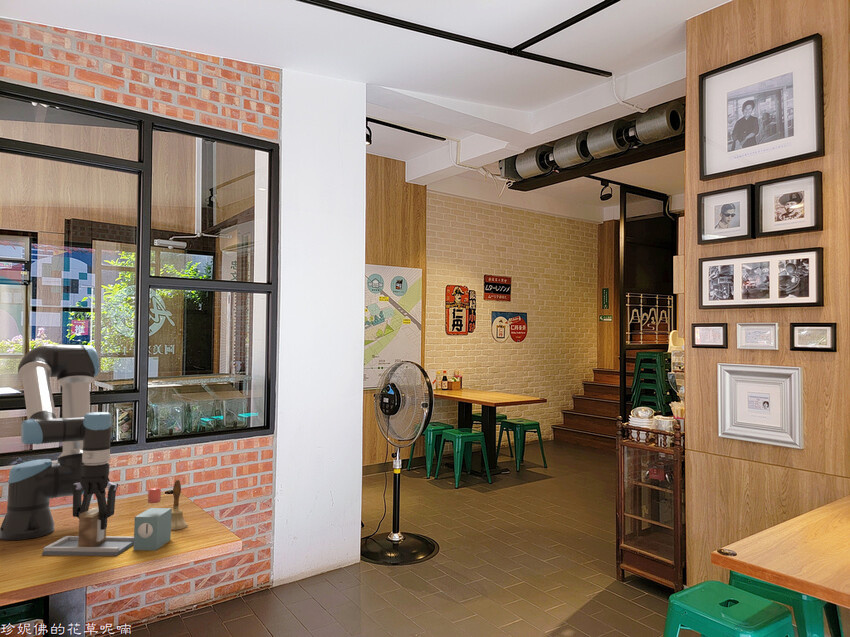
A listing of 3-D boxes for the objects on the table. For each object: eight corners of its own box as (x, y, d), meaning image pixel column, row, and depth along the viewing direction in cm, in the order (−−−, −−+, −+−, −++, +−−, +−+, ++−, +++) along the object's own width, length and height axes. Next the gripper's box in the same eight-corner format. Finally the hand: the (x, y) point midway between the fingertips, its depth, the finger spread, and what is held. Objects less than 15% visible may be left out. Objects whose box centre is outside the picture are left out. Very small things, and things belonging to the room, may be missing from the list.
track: (42, 555, 171) (42, 548, 171) (66, 541, 183) (67, 535, 183) (116, 555, 171) (116, 548, 172) (136, 542, 183) (136, 536, 184)
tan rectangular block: (77, 548, 173) (79, 514, 174) (92, 540, 182) (94, 507, 182) (91, 548, 173) (92, 514, 174) (106, 540, 182) (107, 507, 182)
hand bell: (179, 522, 206) (180, 476, 207) (192, 526, 201) (194, 479, 202) (156, 527, 199) (158, 480, 200) (170, 532, 195) (172, 484, 196)
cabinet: (132, 550, 176) (133, 517, 176) (148, 539, 186) (150, 508, 187) (155, 551, 176) (156, 517, 176) (170, 539, 187) (171, 508, 187)
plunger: (145, 503, 180) (146, 490, 181) (151, 500, 184) (151, 487, 184) (157, 503, 181) (157, 490, 181) (162, 500, 184) (162, 487, 184)
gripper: (60, 464, 175) (56, 543, 174) (116, 465, 175) (113, 544, 174) (75, 460, 183) (72, 535, 181) (129, 461, 183) (126, 536, 181)
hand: (92, 539), depth 178 cm, fingers closed on tan rectangular block, 4 cm apart
